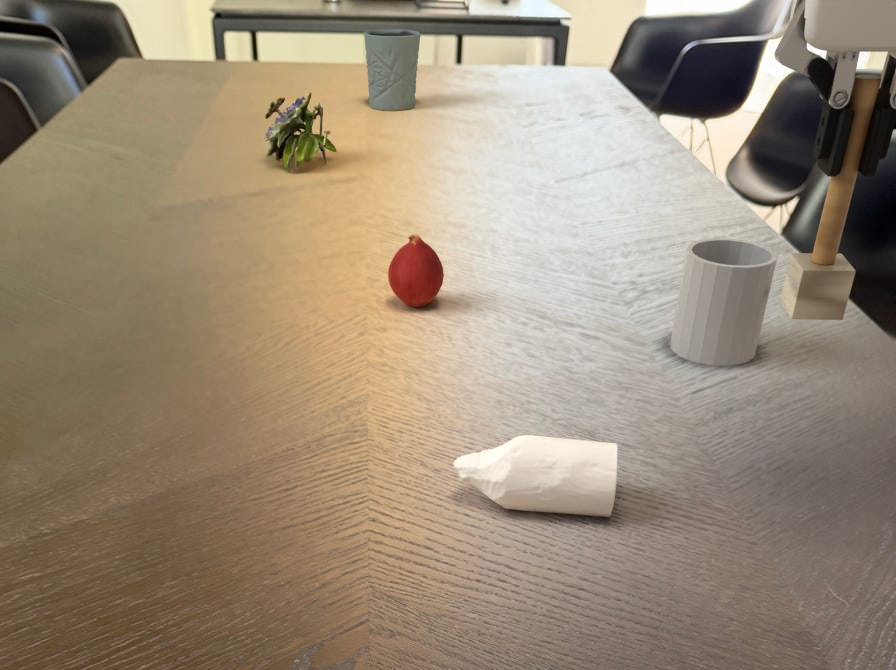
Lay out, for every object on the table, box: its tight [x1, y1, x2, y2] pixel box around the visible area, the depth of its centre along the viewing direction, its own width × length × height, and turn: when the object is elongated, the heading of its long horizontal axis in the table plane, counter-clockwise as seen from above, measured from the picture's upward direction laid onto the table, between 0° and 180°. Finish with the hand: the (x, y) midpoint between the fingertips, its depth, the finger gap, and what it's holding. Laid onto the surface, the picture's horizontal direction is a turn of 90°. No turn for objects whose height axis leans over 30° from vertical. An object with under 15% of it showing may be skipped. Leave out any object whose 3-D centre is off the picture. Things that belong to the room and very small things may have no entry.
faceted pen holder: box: [669, 237, 779, 367], centre depth 97 cm, size 8×8×10 cm
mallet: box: [779, 74, 881, 321], centre depth 68 cm, size 4×4×15 cm
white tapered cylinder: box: [453, 434, 619, 518], centre depth 75 cm, size 6×12×6 cm, turn 83°
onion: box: [387, 233, 445, 308], centre depth 106 cm, size 6×6×8 cm
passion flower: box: [264, 91, 337, 173], centre depth 154 cm, size 11×11×12 cm
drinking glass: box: [363, 28, 421, 112], centre depth 185 cm, size 10×10×12 cm
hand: (845, 169), depth 67 cm, fingers closed on mallet
